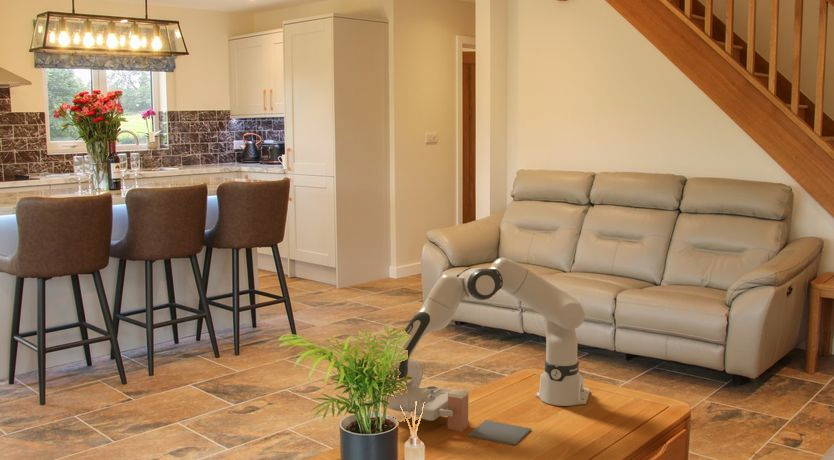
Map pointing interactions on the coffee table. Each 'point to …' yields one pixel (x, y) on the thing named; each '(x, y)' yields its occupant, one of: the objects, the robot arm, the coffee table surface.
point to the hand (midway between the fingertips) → (459, 408)
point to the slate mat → (500, 432)
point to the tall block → (458, 409)
